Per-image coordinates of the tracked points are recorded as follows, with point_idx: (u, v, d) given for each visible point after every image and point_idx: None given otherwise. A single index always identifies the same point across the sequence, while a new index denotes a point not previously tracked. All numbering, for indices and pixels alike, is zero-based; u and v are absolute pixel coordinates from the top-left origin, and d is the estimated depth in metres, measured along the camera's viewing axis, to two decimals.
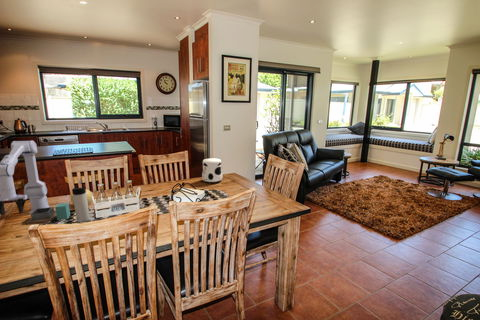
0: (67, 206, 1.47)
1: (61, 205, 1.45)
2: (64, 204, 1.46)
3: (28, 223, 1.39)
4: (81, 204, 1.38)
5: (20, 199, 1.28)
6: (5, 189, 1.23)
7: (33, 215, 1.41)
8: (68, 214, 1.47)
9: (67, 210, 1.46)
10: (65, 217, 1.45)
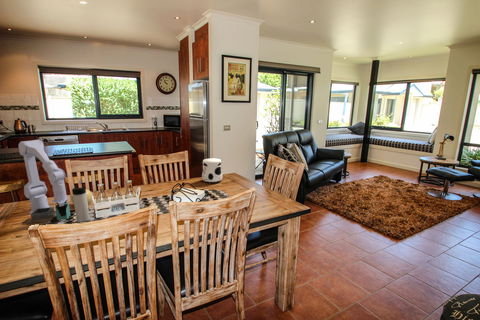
0: (67, 206, 1.47)
1: None
2: None
3: (28, 223, 1.39)
4: (81, 204, 1.38)
5: None
6: (63, 191, 1.43)
7: (33, 215, 1.41)
8: (68, 214, 1.47)
9: (67, 210, 1.46)
10: (65, 217, 1.45)
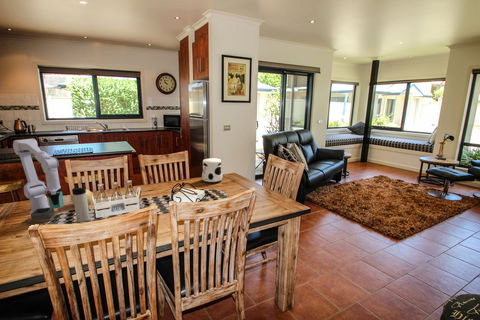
0: (60, 195, 1.45)
1: None
2: None
3: (28, 223, 1.39)
4: (81, 204, 1.38)
5: None
6: (56, 179, 1.41)
7: (33, 215, 1.41)
8: (61, 203, 1.46)
9: (60, 199, 1.45)
10: (58, 206, 1.43)
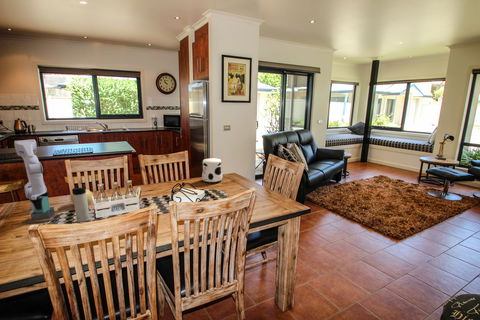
0: (45, 200, 1.45)
1: None
2: (42, 197, 1.44)
3: (28, 223, 1.39)
4: (81, 204, 1.38)
5: None
6: (39, 184, 1.41)
7: (33, 215, 1.41)
8: (46, 208, 1.45)
9: (44, 204, 1.44)
10: (41, 211, 1.43)
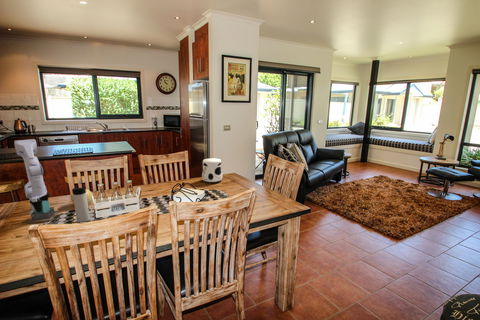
0: (46, 204, 1.45)
1: None
2: (43, 202, 1.45)
3: (28, 223, 1.39)
4: (81, 204, 1.38)
5: None
6: (40, 186, 1.41)
7: (33, 215, 1.41)
8: None
9: (45, 208, 1.45)
10: None
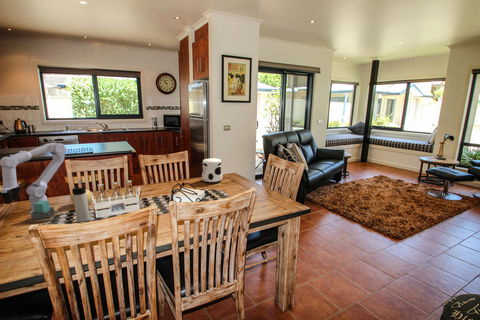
0: (46, 204, 1.45)
1: (40, 202, 1.44)
2: (43, 202, 1.45)
3: (28, 223, 1.39)
4: (81, 204, 1.38)
5: None
6: (3, 178, 1.40)
7: (33, 215, 1.41)
8: None
9: (45, 208, 1.45)
10: None
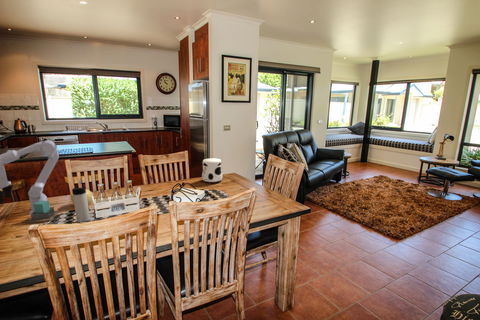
0: (46, 204, 1.45)
1: (40, 202, 1.44)
2: (43, 202, 1.45)
3: (28, 223, 1.39)
4: (81, 204, 1.38)
5: None
6: None
7: (33, 215, 1.41)
8: None
9: (45, 208, 1.45)
10: None
